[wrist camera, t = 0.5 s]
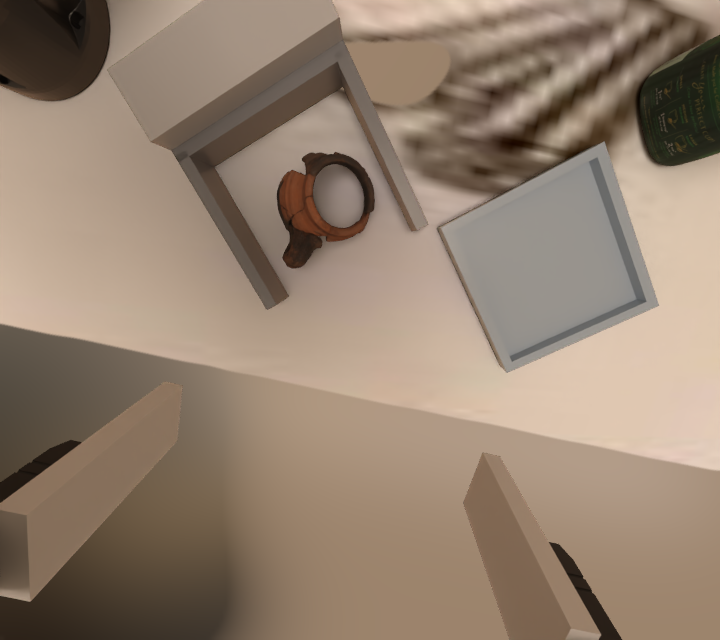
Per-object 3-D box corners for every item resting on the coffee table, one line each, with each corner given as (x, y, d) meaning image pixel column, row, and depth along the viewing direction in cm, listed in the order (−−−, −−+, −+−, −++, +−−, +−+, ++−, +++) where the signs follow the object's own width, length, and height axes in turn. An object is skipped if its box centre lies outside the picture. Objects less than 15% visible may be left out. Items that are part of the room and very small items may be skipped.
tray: (436, 228, 37) (440, 227, 35) (589, 147, 34) (604, 141, 32) (499, 365, 40) (507, 372, 38) (642, 301, 38) (658, 305, 36)
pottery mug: (287, 147, 36) (314, 120, 29) (358, 191, 41) (397, 177, 33) (247, 252, 36) (264, 252, 29) (324, 285, 40) (355, 291, 33)
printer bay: (166, 106, 35) (107, 69, 27) (317, 4, 32) (300, -69, 24) (280, 301, 39) (257, 316, 32) (421, 225, 37) (434, 223, 29)
